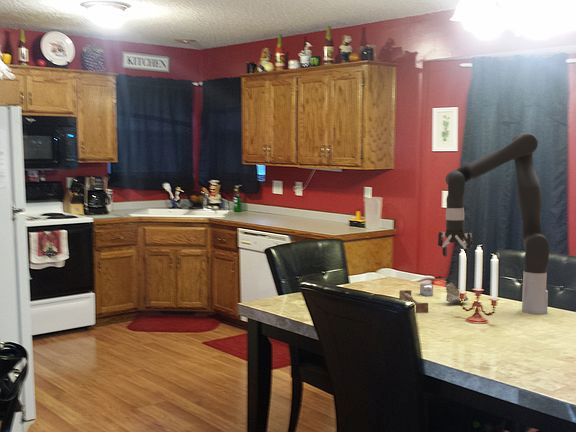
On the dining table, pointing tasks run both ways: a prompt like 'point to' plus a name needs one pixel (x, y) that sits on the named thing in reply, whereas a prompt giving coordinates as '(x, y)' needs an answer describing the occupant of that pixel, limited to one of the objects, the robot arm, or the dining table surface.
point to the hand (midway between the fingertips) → (455, 256)
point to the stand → (407, 296)
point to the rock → (453, 294)
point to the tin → (426, 290)
